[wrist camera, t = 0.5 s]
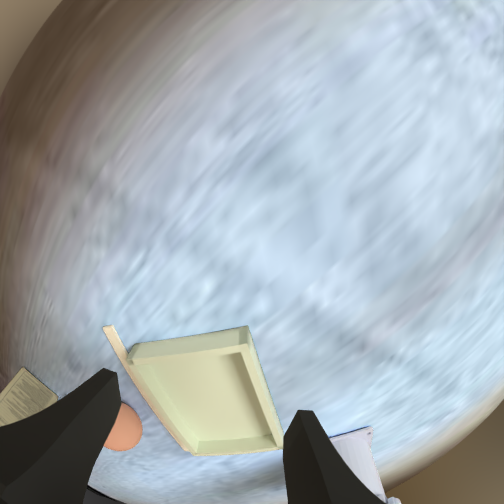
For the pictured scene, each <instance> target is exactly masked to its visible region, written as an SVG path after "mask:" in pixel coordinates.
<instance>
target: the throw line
mask: <svg viewBox="0 0 504 504" xmlns="http://www.w3.org/2000/svg"><path fill="white" fill-rule="evenodd" d="M103 330H104V332H105V334H106V335H107V337H108V339H109V341H110V343H111V345H112V347H113V348H114V350H115V352H116V354H117V356H118V357H119V359H120V361H121V362H122V364H123V366H124V367H125V369H126V371H127V372H128V374H129V376H130V377H131V379H132V380H133V382H134V384H135V385H136V387H137V388H138V390H139V391H140V393H141V394H142V396H143V397H144V399H145V400H146V401H147V403H148V404H149V406H150V407H151V409H152V410H153V411H154V413H155V414H156V415H157V417H158V418H159V420H160V421H161V422H162V423H163V425H164V426H165V427H166V429H167V430H168V431H169V432H170V434H171V435H172V436H173V437H174V439H175V440H176V441H177V442H178V444H179V445H180V446H181V447H182V448H183V450H184V451H189V450H188V449H187V448H186V446H185V445H184V444H183V443H182V441H181V440H180V439H179V438H178V436H177V435H176V434H175V433H174V431H173V430H172V429H171V427H170V426H169V425H168V424H167V422H166V421H165V419H164V418H163V417H162V415H161V414H160V413H159V411H158V410H157V408H156V407H155V406H154V404H153V403H152V401H151V400H150V398H149V397H148V395H147V394H146V392H145V391H144V389H143V388H142V386H141V385H140V383H139V381H138V380H137V378H136V377H135V375H134V373H133V372H132V370H131V368H130V367H129V365H128V363H127V362H126V360H125V359H126V358H127V356H128V352H127V351H126V349H125V347H124V345H123V343H122V341H121V339H120V338H119V336H118V334H117V332H116V330H115V328H114V326H113V325H109V326H104V327H103Z"/></svg>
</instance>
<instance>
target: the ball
mask: <svg viewBox="0 0 504 504" xmlns="http://www.w3.org/2000/svg"><path fill="white" fill-rule="evenodd" d="M121 403H122V402H121ZM141 436H142V423H141V421H140V418H139V416H138V415H137V413H136V412H135V411H134V410H133V409H132V408H131V407H129V406H128V405H126V404H124V403H122V405H121V407H120V410H119V413H118V416H117V419H116V421H115V424H114V426H113V428H112V430H111V432H110V434H109V436H108V438H107V440H106V442H105V444H104V446H105V447H106V448H108V449H111V450H115V451H126V450H129V449H131V448H133V447H135V446H136V445H137V444H138V442H139V441H140V439H141Z"/></svg>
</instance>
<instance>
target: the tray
mask: <svg viewBox="0 0 504 504" xmlns="http://www.w3.org/2000/svg"><path fill="white" fill-rule="evenodd" d="M125 360H126V362H127V363H128V365H129V367H130V368H131V370H132V372H133V373H134V375H135V377H136V378H137V380H138V381H139V383H140V385H141V386H142V388H143V389H144V391H145V392H146V394H147V395H148V397H149V398H150V400H151V401H152V403H153V404H154V406H155V407H156V408H157V410H158V411H159V413H160V414H161V415H162V417H163V418H164V419H165V421H166V422H167V424H168V425H169V426H170V427H171V429H172V430H173V431H174V433H175V434H176V435H177V436H178V438H179V439H180V440H181V441H182V443H183V444H184V445H185V446H186V448H187V449H188V450H189V451H190V452H191V453H192V455H193V456H214V455H234V454H246V453H256V452H265V451H272V450H279V449H283V437H284V433H283V429H282V426H281V424H280V421H279V418H278V415H277V412H276V409H275V406H274V403H273V400H272V397H271V394H270V391H269V388H268V385H267V382H266V379H265V376H264V373H263V370H262V367H261V364H260V361H259V358H258V355H257V352H256V349H255V346H254V343H253V340H252V336H251V333H250V330H249V327H248V326H243V327H238V328H233V329H227V330H222V331H217V332H211V333H205V334H199V335H193V336H187V337H180V338H174V339H167V340H160V341H152V342H144V343H136V344H135V345H134V346H133V348H132V350H131V351H130V353H129V354H128V356H127V358H126V359H125Z"/></svg>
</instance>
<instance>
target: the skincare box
mask: <svg viewBox="0 0 504 504" xmlns="http://www.w3.org/2000/svg"><path fill="white" fill-rule="evenodd" d="M57 400H58V396H57V395H56V394H54V393H53V392H52V391H51V390H49V389H48V388H47V387H46V386H45V385H43V384H42V383H41V382H40V381H39V380H37V379H36V378H35V377H34V376H33V375H32V374H30V373H29V372H28V371H27V370H26V369H25V368H24V367H22V368H21V369H20V371H19V372H18V373H17V374H16V375H15V377H14V378H13V379H12V380H11V381H10V383H9V384H8V385H7V386H6V388H5V389H4V390H3V391H2V393H1V394H0V426H4V425H8V424H11V423H14V422H17V421H19V420H22V419H24V418H27V417H29V416H31V415H33V414H36V413H38V412H40V411H41V410H43V409H45V408H47V407H49V406H50V405H52V404H54V403H55V402H57Z"/></svg>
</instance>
